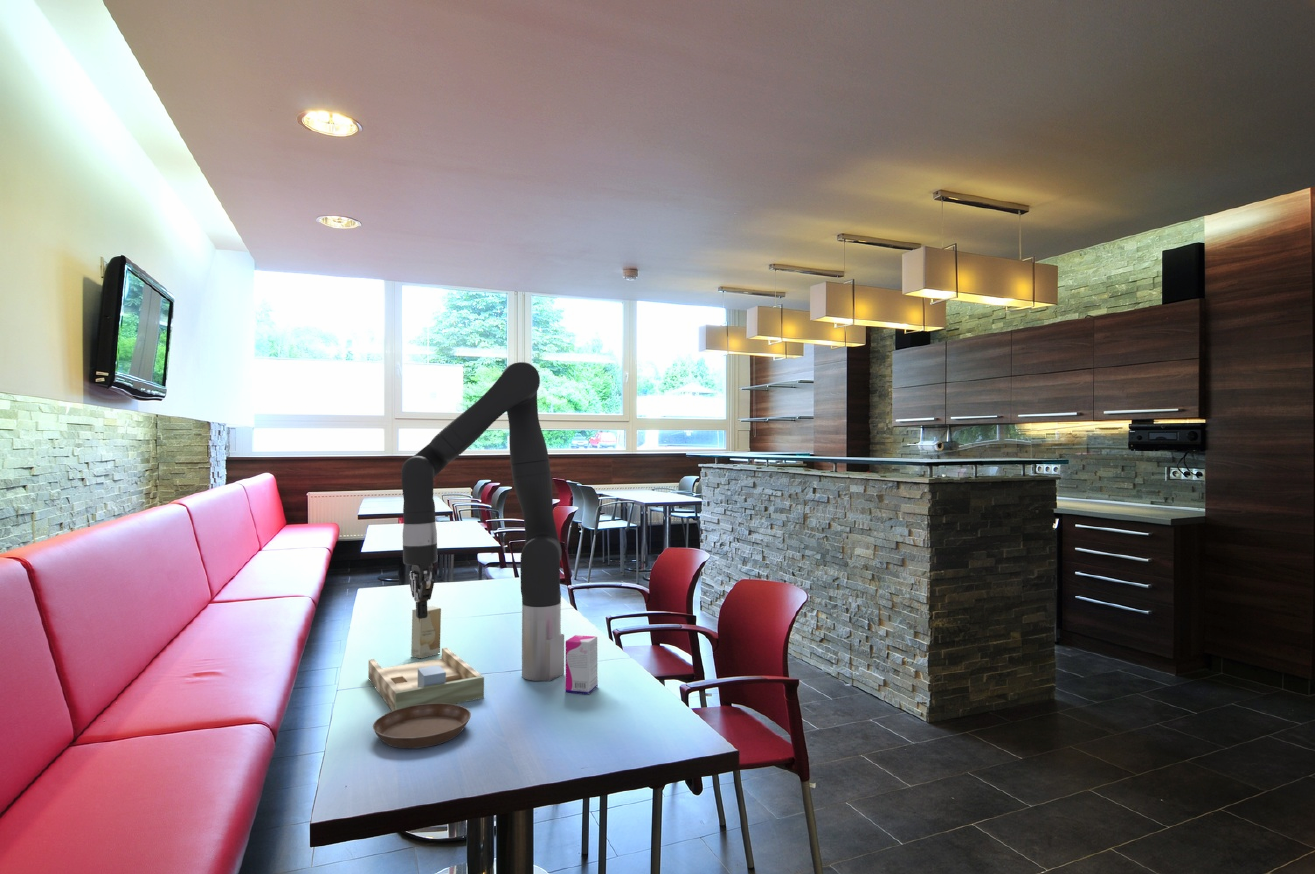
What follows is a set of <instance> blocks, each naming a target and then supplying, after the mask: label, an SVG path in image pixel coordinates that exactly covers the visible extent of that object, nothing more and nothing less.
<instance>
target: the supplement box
mask: <svg viewBox="0 0 1315 874" xmlns="http://www.w3.org/2000/svg"><path fill="white" fill-rule="evenodd" d="M598 682H599V680H598V636H596V635H595V636H591V635H577V634H575V635H573V636H572V637H569V638H568V639H567V640H565V693H571V694H579V693H582V694H581V695H590V694H591V693H592V692H593V691H595V690H596V689H597V687H598ZM596 686H597V687H596ZM583 693H584V694H583ZM589 693H590V694H589Z"/></svg>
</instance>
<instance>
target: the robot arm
mask: <svg viewBox="0 0 1315 874" xmlns="http://www.w3.org/2000/svg"><path fill="white" fill-rule="evenodd" d="M540 384H541V380H540V373H539V371H538V369H537V368H536V367H535V366H534V365H532V364H531V363H529V362H525V361H516V362H515V361H514V362H513V363H511V364H508V365H507V366H506V367H505V368H504V369H503V370H502V373H501V374H500V376H499V377H498V379H497V380H496V381H495V382H494V383H493V384H492V386H491V387H490V388H489V389H488V390H487V391H486V392H485V393H484V394H483V395H482V396H481V397H480V398H479V399H478V400H477V401H475V403H473V404H472V405H470V406H469V407H468V408H466V410H464V411H463V412H462V413H461V414H459V415H457V417H456V418H455V419H453V420H452V421H451V422H450V423H448V424H447V425H446V426H445V427H444V428H443V429H442V430H440V431H439V432H438V433H437V434H435V436H434V437H433V438H432V439H431V441H430V442H429V443H428V444H427V445H426V446H424V447H423V448H422V449H420V450H418V452H417V453H415V454H414V455H413V456H411V457H410V458H408V459H406V460H405V461H404V462H403V464H402V467H401V472H400V473H401V475H400V477H401V478H400V479H401V488H402V497H403V508H402V514H403V516H402V517H403V521H402V523H403V527H402V563H403V564H404V565H407V566H411V571H409V574H408V576H407V578H408V582H409V587H410V592H411V596H412V598H413V600H414V602H415V609H416V617H417V618H419V619H422V618H426V617H427V616H428V614H427V607H428V602H429V600H431V599H432V594H433V590H434V587H435V586H434V585H435V580H434V579H432V577H433V575H432V573H433V572H432V570H431V568H430V567H431V566H430V565H431V564H434V563H436V562H438V533H437V524H436V505H435V500H434V478H436V477H437V475H438V474H440V472H442V471H443V469H445V467H446V466H447V465H448V464H450V463H451V462H453V461H454V460H455V459H457V458H458V457H459V456H461V455H462V454H463V453H464V452H465V451H466V450H467V449H469V448H470V447H471V446H472V444H474V443H475V442H476V441H477V440H478V439H479V438H480V437H481V436H482V435H483V434H484V433H485V432H486V431H487V430H488V429H489V428H490V427H491V425H493V424H494V423H495V421H497V420H498V419H499V418H500V417H501V416H502V415H503V414H505V413H506V415H507V419H508V420H507V421H508V426H509V427H508V429H509V431H508V433H509V441H508V442H509V457H510V458H509V459H510V460H509V461H510V468H511V475H512V483H513V486H514V491H515V494H516V497H517V500H518V503H519V506H520V508H521V513H522V517H523V522H524V523H523V524H524V546H523V547H522V550H521V553H520V566H519V567H520V594H521V602H522V603H521V677H522V678H523V679H525V680H528V681H535V682H537V681H538V682H539V681H541V682H543V681H547V682H550V681H553V680H555V679H556V678H558V677H560V676H562V675H565V634H564V633H562V630H561V626H562V625H561V621H562V617H561V616H562V615H561V611H562V609H561V607H562V592H561V560H562V556H563V554H562V553H563V551H562V550H563V549H562V546H561V542H560V539H559V538H560V537H559V535H558V531H557V526H556V521H555V518H554V505H553V499H554V498H553V484H552V483H553V482H552V471H551V465H550V464H551V463H550V460H549V459H550V458H549V457H550V456H549V453H548V447H547V444H546V440H545V437H544V433H543V430H542V427H541V425H540V424H541V423H540V419H539V411H538V410H539V409H538V391H539V387H540Z"/></svg>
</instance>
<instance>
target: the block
mask: <svg viewBox="0 0 1315 874" xmlns="http://www.w3.org/2000/svg"><path fill="white" fill-rule="evenodd" d="M445 682H446V672H445V671H444V670H443V669H442V668H441V667H440V666H439V665H435V666H429V667H423V668H418V687H423V686H429V685H434V684H440V683H445Z"/></svg>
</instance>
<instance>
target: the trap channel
mask: <svg viewBox="0 0 1315 874" xmlns="http://www.w3.org/2000/svg"><path fill="white" fill-rule="evenodd" d="M435 665H439V666H440V667H441V668H442V669H443V670H444V671H445V672H446V682H445V683H440V684H434V685H429V686H423V687H418V668H423V667H429V666H435ZM367 676H368V678H369V679H370V680H371V682H372V683H373V684H372V683H371V682H370V683H371V684H372V686H373V685H374V686H375V687H376V689H377V690H378V691H377V690H376V689H375V690H376V691H377V693H378V692H379V693H380V694H381V695H380V694H379V693H378V694H379V695H380V697H381V696H382V697H383V698H382V697H381V698H382V699H383V700H385V701H384V702H385V704H387V706H388V707H389V709H390V710H391V712H392V711H395V710H398V709H401V708H405V707H409V706H414V705H421V704H431V703H445V704H454V705H457V704H462V703H465V702H470V701H471V702H472V701H476V700H481V699H484V698H485V676H483V675H482V674H481V673H480V672H478V671H477V670H476V669H474V668H473V667H472V666H471V665H469V664H468V663H467V662H466V661H464V660H463V659H462V658H461V657H459V656H458V655H457V654H455V652H453V651H451V650H450V649H449V648H448V647H443V648H441V658H436V659H430V660H424V661H418V662H417V661H416V662H412V663H411V662H410V663H406V664H400V665H399V664H398V665H394V666H388V667H382V666H380V664H379V663H378V662H377V661H376V660H375V658H372V659H368V675H367ZM369 679H368V680H369ZM370 680H369V681H370ZM374 686H373V687H374ZM375 687H374V688H375Z"/></svg>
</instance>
